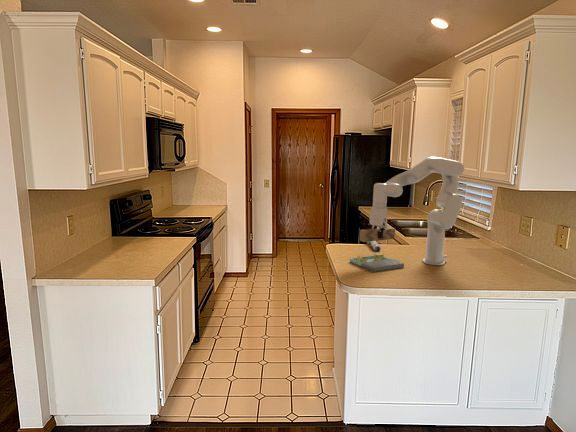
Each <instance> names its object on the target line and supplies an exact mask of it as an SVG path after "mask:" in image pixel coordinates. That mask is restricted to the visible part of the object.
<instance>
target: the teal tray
mask: <svg viewBox="0 0 576 432" xmlns="http://www.w3.org/2000/svg"><path fill="white" fill-rule="evenodd" d="M366 256H367V262H372V261H375V260H374V254H373V255H366ZM387 259H391V258H389V257H387V256H384V260H387ZM349 263H351V264H353V265H355V266H358V267H360V268H362V263H361V262H358V261H357V257H352V258H349Z"/></svg>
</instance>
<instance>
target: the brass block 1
mask: <svg viewBox="0 0 576 432" xmlns="http://www.w3.org/2000/svg"><path fill="white" fill-rule="evenodd" d="M367 256H368V255H365V254H360V255H357V256H356V258H357V261H358V262H361V263H365V262H367Z"/></svg>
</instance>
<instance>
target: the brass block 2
mask: <svg viewBox="0 0 576 432" xmlns="http://www.w3.org/2000/svg"><path fill="white" fill-rule="evenodd" d="M373 255H374V260H375V261H379V260H384V257H385V256H384V255H385V254H384V253H381V252H375V253H373Z"/></svg>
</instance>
